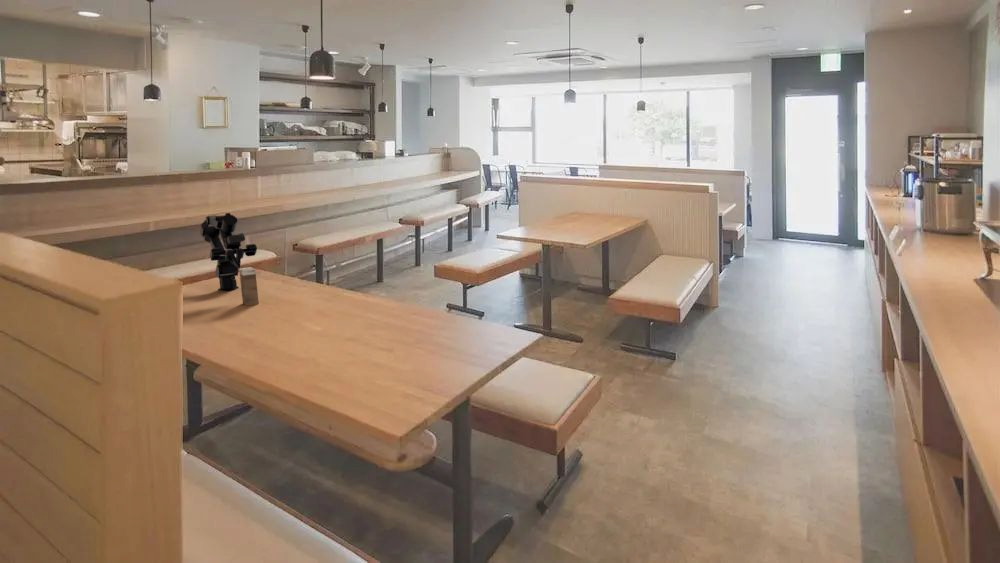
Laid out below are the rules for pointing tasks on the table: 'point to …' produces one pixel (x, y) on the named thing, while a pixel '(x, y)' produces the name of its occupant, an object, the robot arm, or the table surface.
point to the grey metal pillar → (248, 286)
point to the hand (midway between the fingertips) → (239, 267)
